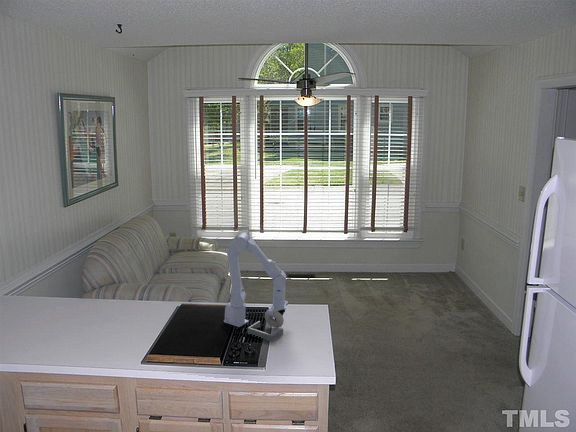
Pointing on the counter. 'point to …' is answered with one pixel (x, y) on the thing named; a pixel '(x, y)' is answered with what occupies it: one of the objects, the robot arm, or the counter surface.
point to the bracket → (264, 335)
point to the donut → (273, 322)
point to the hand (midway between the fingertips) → (277, 323)
